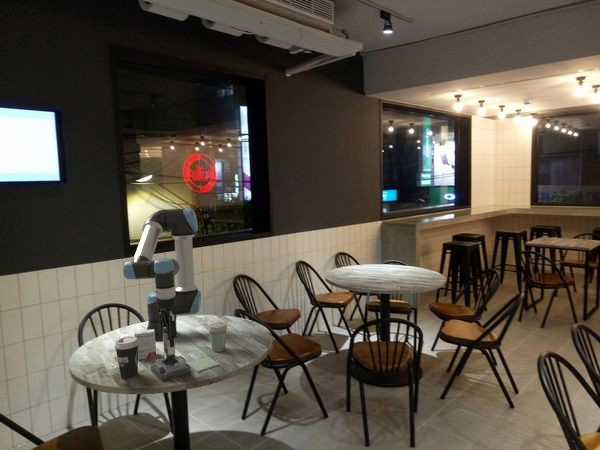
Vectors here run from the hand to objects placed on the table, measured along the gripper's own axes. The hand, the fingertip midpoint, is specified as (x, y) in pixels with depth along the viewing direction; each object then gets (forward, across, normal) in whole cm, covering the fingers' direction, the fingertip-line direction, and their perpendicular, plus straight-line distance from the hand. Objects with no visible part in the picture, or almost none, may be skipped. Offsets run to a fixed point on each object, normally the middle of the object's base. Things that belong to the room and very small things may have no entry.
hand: (169, 352), depth 176 cm
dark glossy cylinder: (+3, 0, 0) cm, 3 cm away
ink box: (+9, -23, -2) cm, 25 cm away
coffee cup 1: (+9, -9, -14) cm, 19 cm away
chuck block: (+8, 0, 0) cm, 8 cm away
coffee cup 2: (+9, -7, +26) cm, 28 cm away
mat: (+8, +3, +13) cm, 16 cm away
